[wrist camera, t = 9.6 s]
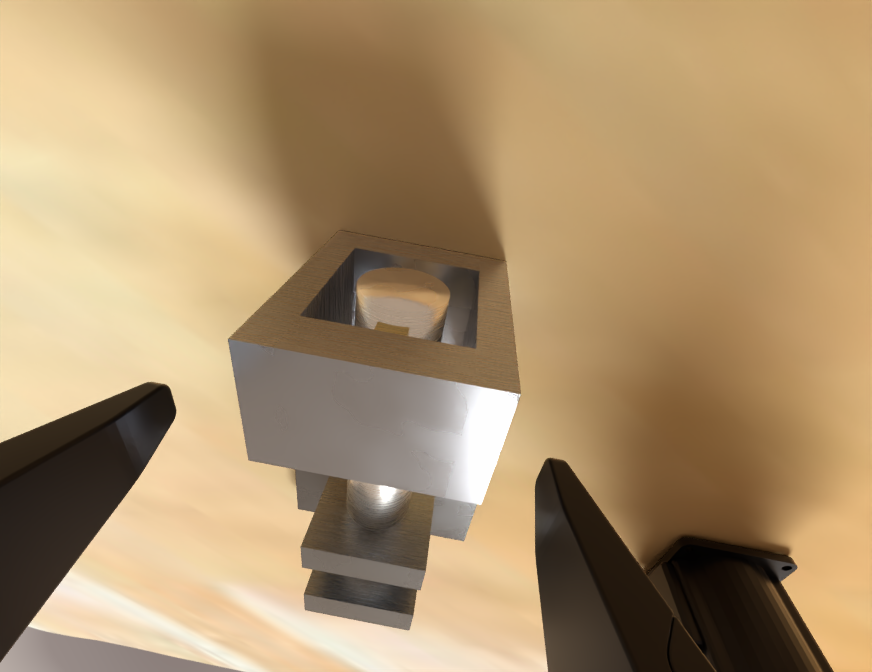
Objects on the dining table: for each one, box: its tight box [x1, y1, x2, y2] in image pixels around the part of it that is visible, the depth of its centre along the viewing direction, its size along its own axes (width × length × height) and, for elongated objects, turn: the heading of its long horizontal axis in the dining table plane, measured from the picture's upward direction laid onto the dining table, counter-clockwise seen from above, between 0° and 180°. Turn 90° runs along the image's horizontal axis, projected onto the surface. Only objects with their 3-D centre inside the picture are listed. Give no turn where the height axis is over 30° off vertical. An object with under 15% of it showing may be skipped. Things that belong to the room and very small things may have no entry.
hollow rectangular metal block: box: [228, 230, 521, 505], centre depth 13 cm, size 6×4×8 cm, turn 82°
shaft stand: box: [295, 268, 477, 630], centre depth 17 cm, size 10×17×6 cm, turn 171°
